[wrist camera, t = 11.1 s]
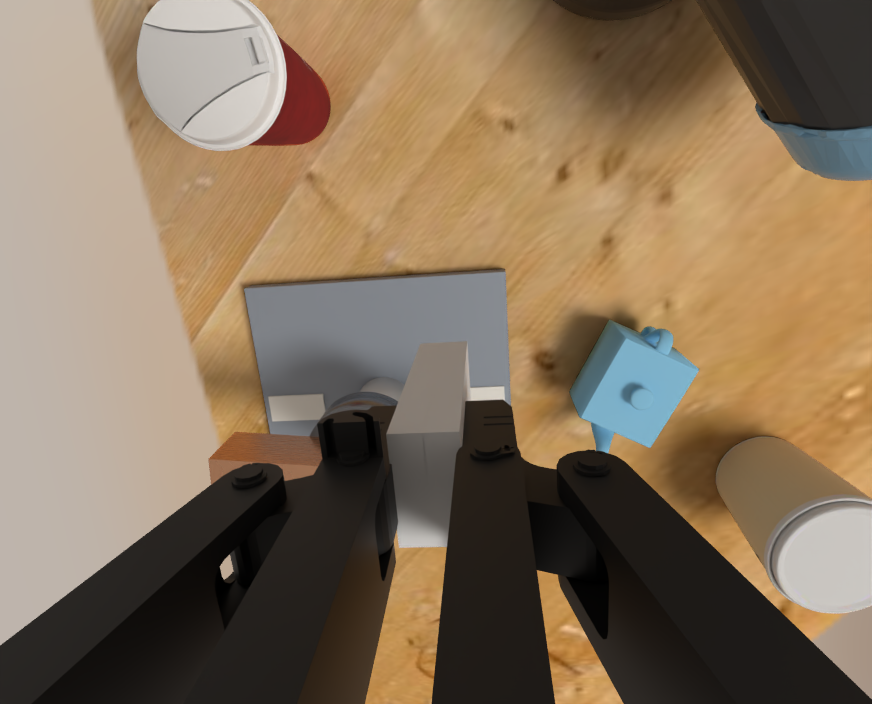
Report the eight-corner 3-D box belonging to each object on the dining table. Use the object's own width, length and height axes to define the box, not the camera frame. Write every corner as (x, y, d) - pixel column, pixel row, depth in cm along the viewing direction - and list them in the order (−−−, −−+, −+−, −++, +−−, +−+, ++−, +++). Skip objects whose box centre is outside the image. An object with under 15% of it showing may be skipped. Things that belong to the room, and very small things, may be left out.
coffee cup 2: (696, 514, 51) (758, 611, 39) (716, 422, 48) (790, 498, 37) (800, 523, 50) (894, 624, 39) (826, 431, 48) (936, 510, 36)
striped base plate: (251, 285, 48) (204, 306, 40) (504, 268, 46) (509, 287, 37) (290, 505, 54) (256, 562, 46) (514, 499, 52) (520, 558, 44)
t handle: (257, 479, 43) (216, 534, 36) (249, 385, 41) (203, 425, 34) (486, 495, 42) (487, 554, 35) (492, 398, 40) (495, 442, 33)
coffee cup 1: (328, 32, 41) (247, -47, 27) (357, 145, 44) (297, 127, 29) (226, 63, 43) (98, 3, 28) (260, 171, 45) (157, 166, 30)
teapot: (610, 445, 50) (632, 490, 42) (550, 419, 49) (561, 459, 42) (680, 329, 46) (717, 356, 39) (615, 300, 46) (640, 322, 39)
